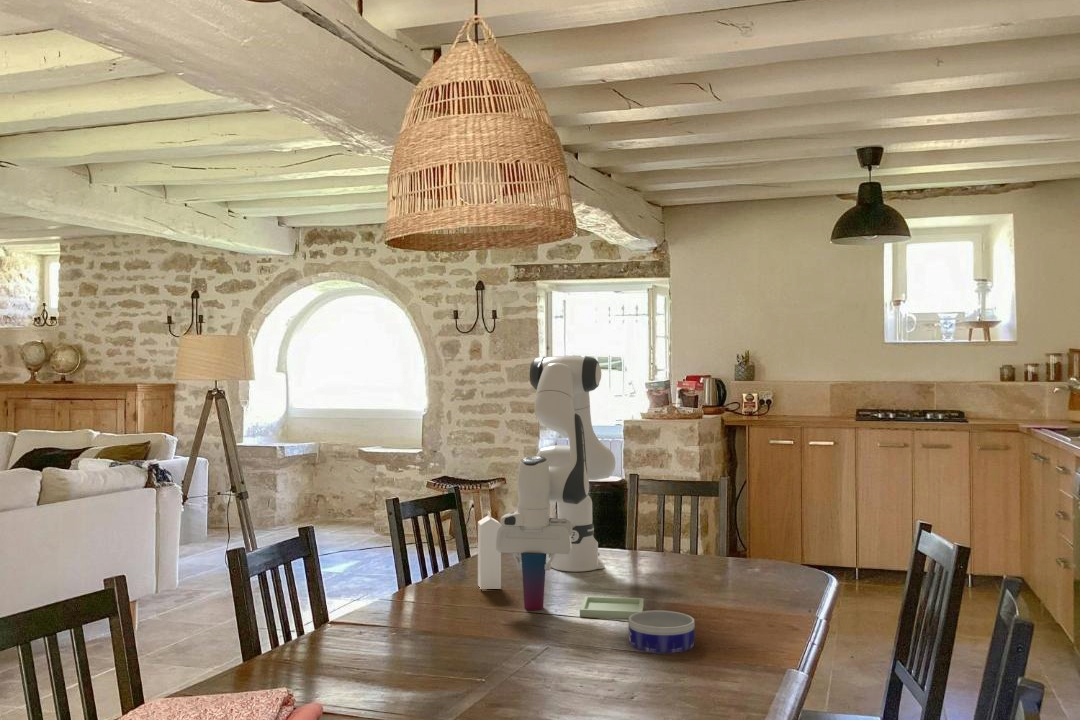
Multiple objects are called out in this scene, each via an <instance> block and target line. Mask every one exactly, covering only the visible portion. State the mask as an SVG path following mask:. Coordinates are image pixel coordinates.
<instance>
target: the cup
mask: <svg viewBox="0 0 1080 720" xmlns="http://www.w3.org/2000/svg"><path fill="white" fill-rule="evenodd" d="M520 557H521V558H520V559H521V560H520V561H521V562H522V570H521V573H522V574H521V576H522V588H523V589H522V591H523V606H524V609H525V610H528V611H540V610H542V609H544V599H545V597H544V596H545V586H546V585H545V581H546V570H545V564H546V563H547V554H544V553H520Z"/></svg>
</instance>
